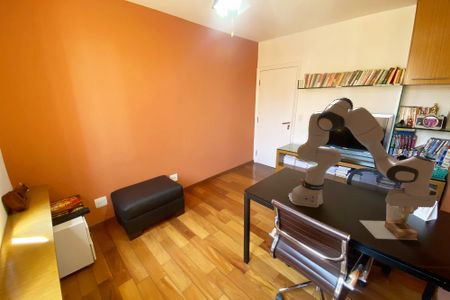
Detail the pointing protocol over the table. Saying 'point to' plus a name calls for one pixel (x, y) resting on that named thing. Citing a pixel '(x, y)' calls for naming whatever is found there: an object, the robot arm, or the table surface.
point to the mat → (379, 230)
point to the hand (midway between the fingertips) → (405, 213)
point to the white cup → (392, 213)
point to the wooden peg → (405, 215)
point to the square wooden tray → (400, 230)
